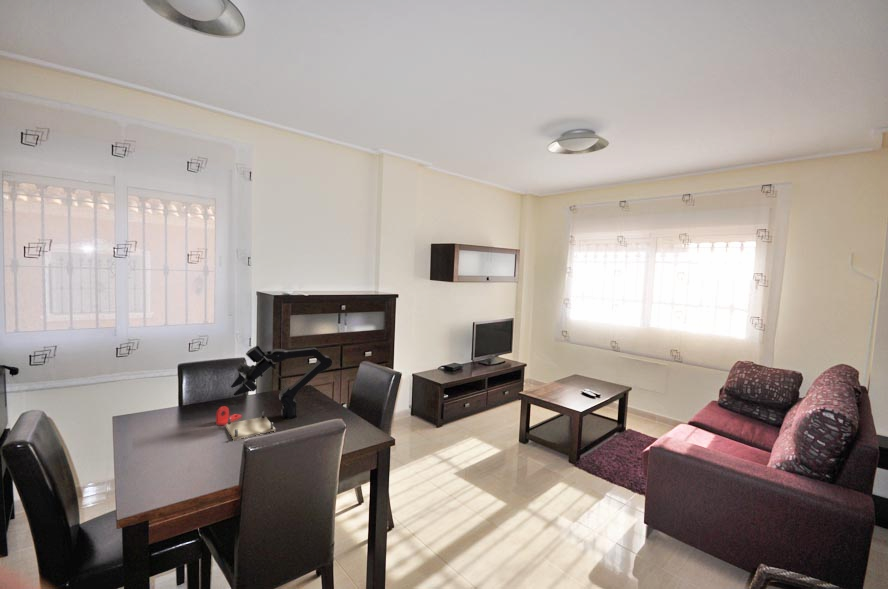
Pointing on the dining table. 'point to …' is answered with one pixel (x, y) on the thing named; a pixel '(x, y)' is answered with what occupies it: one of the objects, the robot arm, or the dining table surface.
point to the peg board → (249, 427)
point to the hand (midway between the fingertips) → (232, 391)
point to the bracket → (225, 416)
